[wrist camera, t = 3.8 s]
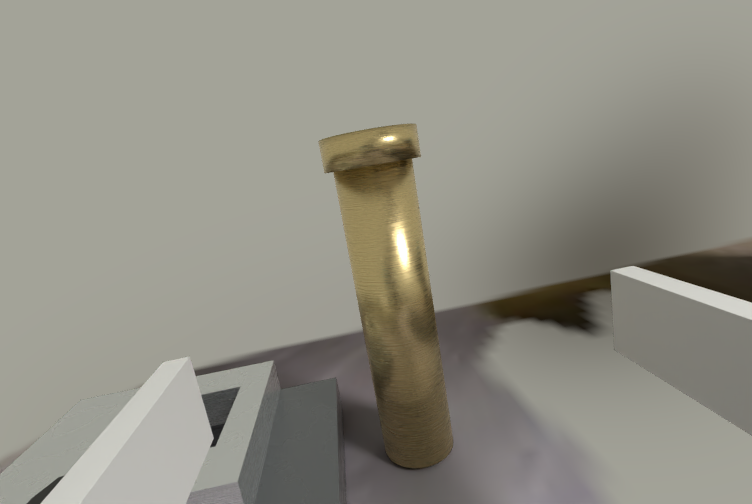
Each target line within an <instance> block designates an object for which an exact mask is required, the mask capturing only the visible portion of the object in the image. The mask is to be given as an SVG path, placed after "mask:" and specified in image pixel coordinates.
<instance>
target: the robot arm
mask: <svg viewBox="0 0 752 504" xmlns="http://www.w3.org/2000/svg"><path fill="white" fill-rule="evenodd" d="M610 273H611V294H612V315H613V337H614V350H615V351H617V352H619V353H620V354H622V355H624V356H625V357H627V358H628V359H630V360H631V361H633V362H635V363H636V364H638V365H639V366H641V367H643V368H644V369H646V370H647V371H649V372H651V373H652V374H654V375H655V376H657V377H659V378H660V379H662V380H664V381H665V382H667V383H668V384H670V385H672V386H673V387H675V388H676V389H678V390H679V391H681V392H683V393H684V394H686V395H688V396H689V397H691V398H692V399H694V400H696V401H697V402H699V403H700V404H702V405H704V406H705V407H707V408H709V409H710V410H712V411H713V412H715V413H716V414H718V415H720V416H721V417H723V418H724V419H726V420H728V421H729V422H731V423H733V424H734V425H736V426H737V427H739V428H740V429H742V430H744V431H745V432H747V433H748V434H750V435H752V303H751V302H748V301H745V300H741V299H738V298H735V297H732V296H729V295H725V294H722V293H719V292H716V291H712V290H709V289H706V288H703V287H700V286H696V285H693V284H690V283H687V282H683V281H680V280H677V279H674V278H671V277H667V276H664V275H661V274H658V273H654V272H651V271H648V270H645V269H642V268H638V267H635V266H629V267H624V268H620V269H615V270H610ZM213 439H214V437H213V434H212V431H211V427H210V424H209V420H208V417H207V413H206V410H205V406H204V403H203V400H202V396H201V393H200V389H199V386H198V382H197V379H196V376H195V372H194V369H193V365H192V362H191V358H190V357H184V358H179V359H175V360H170V361H165V362H163V363H162V364H161V365H160V366H159V367H158V368H157V369H156V371H155V372H154V373H153V374H152V375H151V376H150V378H149V379H148V380H147V381H146V382H145V383H144V385H143V386H142V387H141V388H140V389H139V390H138V391H137V393H136V394H135V395H134V396H133V397H132V398H131V400H130V401H129V402H128V403H127V404H126V405H125V406H124V408H123V409H122V410H121V411H120V412H119V413H118V415H117V416H116V417H115V418H114V419H113V420H112V422H111V423H110V424H109V425H108V426H107V427H106V428H105V430H104V431H103V432H102V433H101V434H100V435H99V437H98V438H97V439H96V440H95V441H94V442H93V443H92V445H91V446H90V447H89V448H88V449H87V450H86V452H85V453H84V454H83V455H82V456H81V457H80V459H79V460H78V461H77V462H76V463H75V464H74V465H73V467H72V468H71V469H70V470H69V471H68V472H67V474H66V475H65V476H61V477H58V478H57V479H56V480H54V481H53V482H52V483H51V484H49V485H48V486H47V487H45V488H44V489H43V490H42V491H40V492H39V493H38V494H36V495H35V496H34V497H33V498H31V499H30V501H29V502H28V503H27V504H186V502H187V500H188V497H189V495H190V493H191V490H192V488H193V486H194V483H195V481H196V479H197V476H198V474H199V472H200V469H201V467H202V465H203V462H204V460H205V458H206V455H207V453H208V451H209V448H210V446H211V444H212V441H213Z"/></svg>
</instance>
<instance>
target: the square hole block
mask: <svg viewBox="0 0 752 504" xmlns="http://www.w3.org/2000/svg"><path fill="white" fill-rule="evenodd" d="M196 379H197V382H198V386H199V389H200V393H201V396H202V400H203V403H204V406H205V410H206V413H207V417H208V420H209V424H210V427H211V431H212V434H213V437H214V439H213V441H212V444H211V446H210V448H209V451H208V453H207V455H206V458H205V460H204V462H203V465H202V467H201V469H200V472H199V474H198V476H197V479H196V481H195V483H194V486H193V488H192V490H191V493H190V495H189V497H188V500H187V502H186V504H347V501H346V481H345V460H344V440H343V419H342V404H341V399H340V394H339V390H338V385H337V380H336V378H332V379H327V380H322V381H318V382H313V383H308V384H303V385H299V386H294V387H289V388H284V389H281V388H280V384H279V380H278V376H277V371H276V367H275V363H274V360H273V361H268V362H263V363H258V364H253V365H249V366H244V367H239V368H234V369H229V370H224V371H219V372H214V373H210V374H205V375H200V376H196ZM139 389H140V388H137V389H132V390H127V391H122V392H117V393H112V394H107V395H103V396H98V397H93V398H88V399H83V400H80V401H79V402H78V403H77V404H76V405H75V406H74V407H73V408H72V409H70V410H69V412H67V413H66V414H65V415H64V416H63V417H62V418H61V419H60V420H59V421H58V422H56V423H55V424H54V425H53V426H52V427H51V428H50V429H49V430H48V431H46V432H45V433H44V434H43V435H42V436H41V437H40V438H39V439H38V440H37V441H36V442H35V443H33V444H32V445H31V446H30V447H29V448H28V449H27V450H26V451H25V452H24V453H23V454H21V455H20V456H19V457H18V458H17V459H16V460H15V461H14V462H13V463H12V464H11V465H9V466H8V467H7V468H6V469H5V470H4V471H3V472H2V473H1V474H0V504H27V503H28V502H29V501H30V499H31V498H33V497H34V496H35V495H36V494H38V493H39V492H40V491H42V490H43V489H44V488H45V487H47V486H48V485H49V484H51V483H52V482H53V481H54V480H56V479H57V478H58V477H61V476H65V475H66V474H67V472H68V471H69V470H70V469H71V468H72V467H73V465H74V464H75V463H76V462H77V461H78V460H79V459H80V457H81V456H82V455H83V454H84V453H85V452H86V450H87V449H88V448H89V447H90V446H91V445H92V443H93V442H94V441H95V440H96V439H97V438H98V437H99V435H100V434H101V433H102V432H103V431H104V430H105V428H106V427H107V426H108V425H109V424H110V423H111V422H112V420H113V419H114V418H115V417H116V416H117V415H118V413H119V412H120V411H121V410H122V409H123V408H124V406H125V405H126V404H127V403H128V402H129V401H130V400H131V398H132V397H133V396H134V395H135V394H136V393H137V391H138V390H139Z"/></svg>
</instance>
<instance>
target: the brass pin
mask: <svg viewBox="0 0 752 504" xmlns="http://www.w3.org/2000/svg"><path fill="white" fill-rule="evenodd" d="M319 146H320V152H321V156H322V162H323V167H324V173H329V172H334V178H335V183H336V188H337V193H338V198H339V204H340V209H341V215H342V220H343V225H344V231H345V236H346V241H347V247H348V252H349V257H350V262H351V268H352V273H353V279H354V284H355V289H356V295H357V300H358V305H359V311H360V316H361V321H362V327H363V332H364V337H365V343H366V348H367V353H368V359H369V364H370V369H371V375H372V380H373V385H374V391H375V396H376V401H377V407H378V412H379V417H380V423H381V428H382V433H383V439H384V444H385V449H386V453H387V455H388V457H389V458H390V459H391V460H392V461H393V462H394V463H396V464H398V465H400V466H403V467H407V468H425V467H429V466H432V465H435V464H437V463H439V462H440V461H442V460H443V459H445V458H446V457H447V456H448V454H449V453H450V452H451V450H452V447H453V437H452V430H451V423H450V416H449V409H448V402H447V395H446V389H445V382H444V375H443V368H442V361H441V354H440V347H439V341H438V334H437V327H436V320H435V313H434V306H433V299H432V293H431V286H430V279H429V272H428V266H427V259H426V252H425V245H424V238H423V231H422V224H421V218H420V211H419V203H418V197H417V190H416V183H415V176H414V169H413V162H412V158H417V157H421V154H420V147H419V140H418V133H417V126H416V124H401V125H392V126H385V127H378V128H372V129H366V130H360V131H355V132H350V133H346V134H341V135H336V136H332V137H328V138H325V139H322V140H320V141H319Z"/></svg>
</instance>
